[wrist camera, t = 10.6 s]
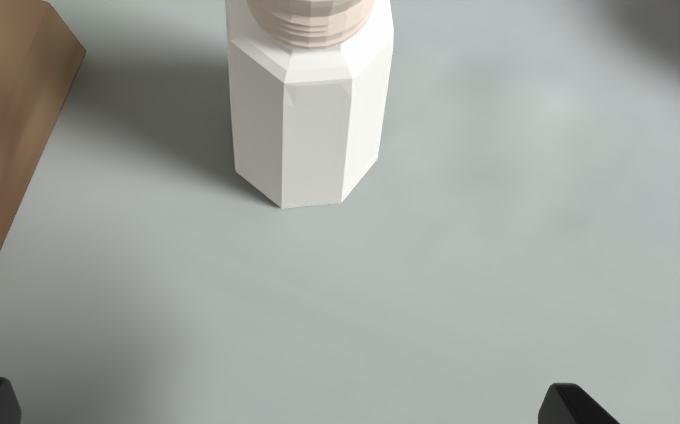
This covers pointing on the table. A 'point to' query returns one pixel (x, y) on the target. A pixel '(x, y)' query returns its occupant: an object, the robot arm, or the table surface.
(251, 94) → the pepper shaker
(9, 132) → the socket block
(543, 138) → the table surface
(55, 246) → the table surface
